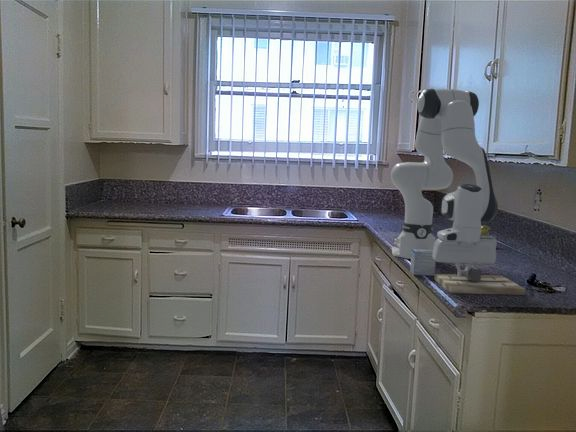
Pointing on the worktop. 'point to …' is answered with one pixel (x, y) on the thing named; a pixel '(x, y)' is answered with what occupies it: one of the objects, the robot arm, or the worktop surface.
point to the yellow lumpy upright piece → (484, 230)
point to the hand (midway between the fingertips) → (462, 275)
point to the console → (479, 284)
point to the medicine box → (422, 262)
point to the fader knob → (474, 274)
